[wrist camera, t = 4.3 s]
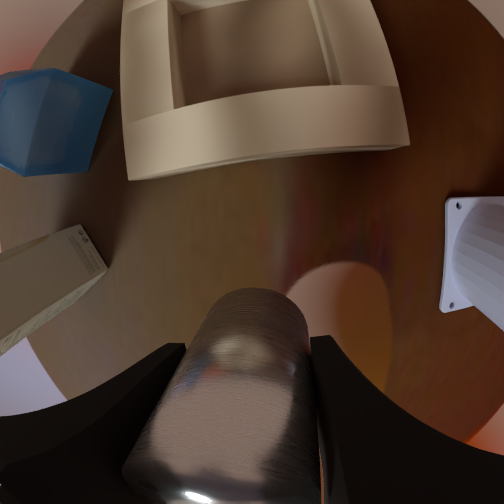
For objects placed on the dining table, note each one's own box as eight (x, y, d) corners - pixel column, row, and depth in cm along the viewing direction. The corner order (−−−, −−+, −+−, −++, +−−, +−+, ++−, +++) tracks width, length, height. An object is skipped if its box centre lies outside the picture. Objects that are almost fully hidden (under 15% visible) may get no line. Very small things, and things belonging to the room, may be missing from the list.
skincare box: (81, 221, 18) (-57, 271, 6) (111, 269, 18) (-18, 354, 6) (47, 263, 19) (-59, 319, 7) (72, 305, 20) (-27, 379, 8)
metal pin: (304, 282, 9) (328, 465, 3) (310, 371, 10) (317, 529, 4) (194, 291, 10) (86, 436, 3) (216, 375, 11) (164, 517, 4)
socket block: (336, -23, 11) (343, -51, 7) (385, 150, 14) (410, 144, 11) (146, 8, 13) (125, -13, 9) (157, 178, 16) (128, 180, 13)
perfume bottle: (87, 172, 17) (-59, 190, 5) (41, 156, 17) (-77, 167, 5) (113, 90, 15) (-25, 47, 3) (62, 85, 15) (-53, 63, 3)
